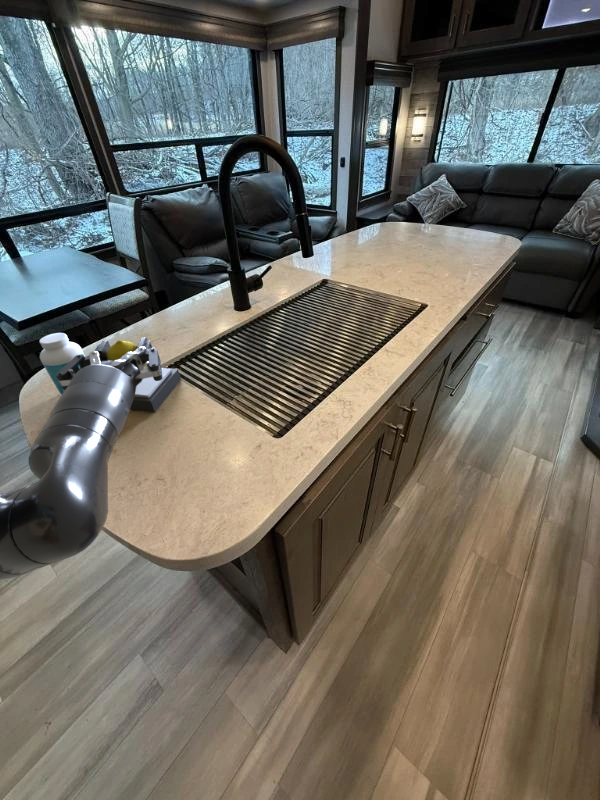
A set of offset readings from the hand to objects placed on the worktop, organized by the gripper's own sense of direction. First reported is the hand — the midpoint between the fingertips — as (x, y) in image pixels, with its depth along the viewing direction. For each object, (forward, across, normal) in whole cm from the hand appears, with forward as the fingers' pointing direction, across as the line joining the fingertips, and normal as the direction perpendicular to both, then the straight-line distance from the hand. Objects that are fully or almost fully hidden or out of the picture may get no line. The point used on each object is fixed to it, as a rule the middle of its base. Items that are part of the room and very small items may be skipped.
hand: (126, 344), depth 55 cm
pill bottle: (+14, +18, +18) cm, 29 cm away
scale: (+12, +5, +18) cm, 22 cm away
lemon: (-3, 0, +6) cm, 7 cm away
